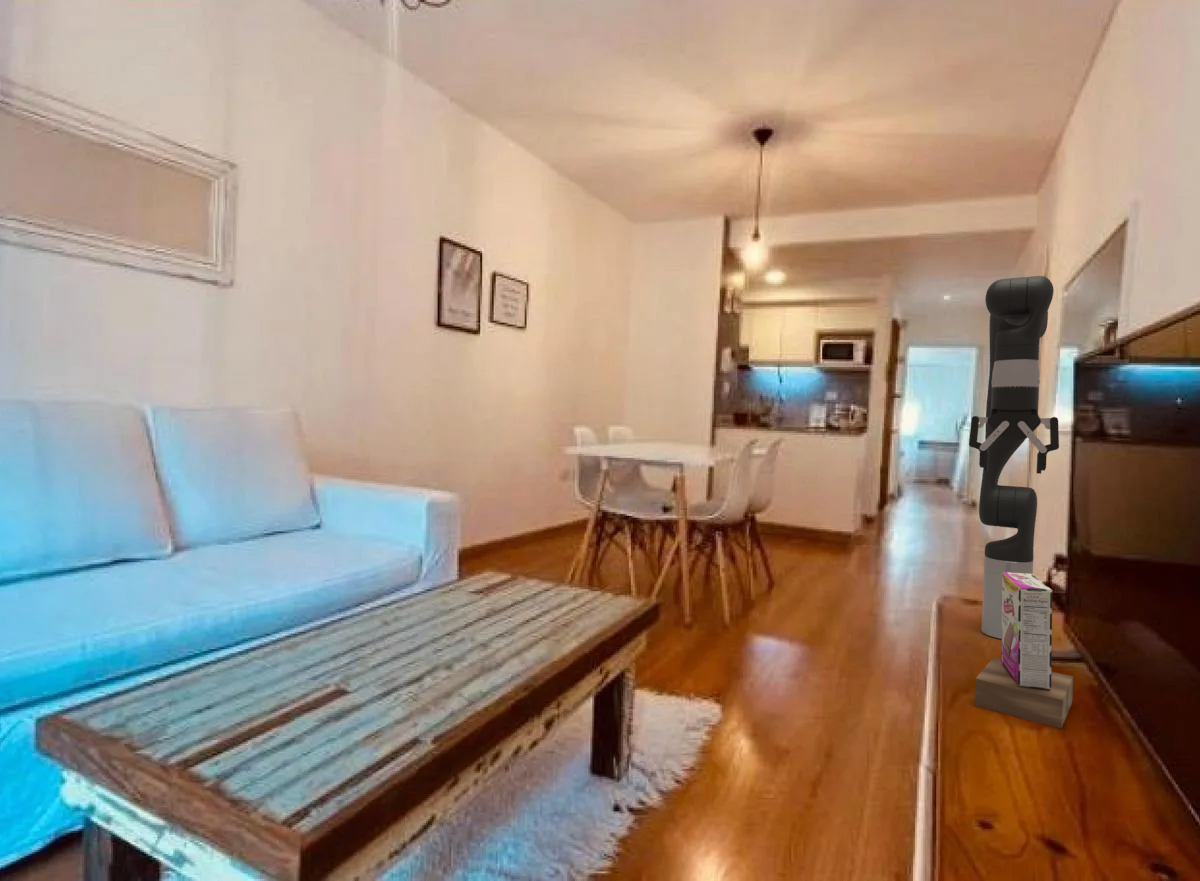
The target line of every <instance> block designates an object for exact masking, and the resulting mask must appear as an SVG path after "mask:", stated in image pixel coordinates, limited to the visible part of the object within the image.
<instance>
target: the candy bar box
mask: <svg viewBox="0 0 1200 881" xmlns="http://www.w3.org/2000/svg"><path fill="white" fill-rule="evenodd" d="M1052 639H1053V589H1051V588H1050V587H1049V586H1047V585H1046V584H1045V583H1044V582H1042V581H1041V580H1040V579H1039V578H1038V577H1036V576H1035V575H1034V573H1033V574H1028V573H1012V572H1002V639H1001V646H1000V647H1001V653H1000V654H1001V655H1000V656H1001V659H1000V660H1001V662H1002V664H1003V665H1004V666H1005V668H1006V669H1007V670H1008V672H1009V673H1010V674H1011V676H1012V677H1013V679H1014V680H1015V681H1016V683H1017V684H1018V686H1020V687H1026V688H1037V689H1049V690H1051V675H1052V672H1053V671H1052V670H1053V669H1052V665H1053V664H1052V663H1053V662H1052V661H1053V660H1052V659H1053V658H1052V657H1053V656H1052V654H1053V653H1052V652H1053V651H1052V650H1053V649H1052V648H1053V646H1052V645H1053V643H1052V642H1053V640H1052Z"/></svg>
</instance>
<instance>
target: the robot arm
mask: <svg viewBox="0 0 1200 881" xmlns="http://www.w3.org/2000/svg"><path fill="white" fill-rule="evenodd" d="M1054 293H1055V292H1054V285H1053V283H1052V282H1051V280H1050V279H1049V278H1048V277H1046V276H1043V275H1035V276H1033V275H1032V276H1024V277H1023V276H1021V277H1012V278H1011V277H1010V278H1008V277H1007V278H1001V279H997V280H995V281H994V282H992V283H991V284H990V285H989V286H988V288H987V290H986V293H985V307H986V309H987V311H988V313H989V314H990V315H989V372H988V374H989V375H988V384H987V396H986V406H985V416H977V415H974V416H972V417H971V419H970V420H971V422H970V429H969V430H970V432H969V440H968V445H969V446H968V447H970V448H974V449H976V450H978V452H979V462H978V464H979V468H981V469H982V477H981V485H980V492H979V500H978V515H979V520H980V523H981V524H983V525H985V526H989V527H990V526H991V527H1000V528H1010V529H1016V530H1017V532H1016V533H1015V534H1013V535H1012V536H1009V537H1007V538H1003V539H998V540H993V541H989V542H987V543H986V544H985V546H984V564H983V566H984V567H983V587H982V588H983V590H982V614H981V632H982V633H983V634H985V635H986V636H990V637H992V638H996V639H1000V640H1002V572H1012V573H1028V574H1033V575H1034V544H1035V542H1034V541H1035V530H1036V518H1037V513H1038V496H1037V492H1036V491H1035V489H1034V488H1032V487H1028V486H1015V485H1014V486H1013V485H999V484H998V483H999V479H1000V477H1001V474H1002V471H1003V470H1004V468H1005V466H1006V464H1007V463H1008V461H1009V460H1010V458H1012V456H1013V455H1014V453H1015V452H1016V451H1017V450H1018V449H1019V448H1020V447H1021V445H1022V444H1023V443H1024V442H1025V441H1026V439H1028V440H1029V441H1030V442H1031V443H1032V444H1033V445H1034V447H1035V448H1036V449H1037V450H1038V452H1037V454H1036V457H1037V458H1036V474H1040V475H1041V474H1042V471H1043V472H1044V471H1046V468H1047V456H1048V453H1049V452H1053V451H1056V450H1058V449H1060V439H1059V438H1060V436H1059V435H1060V432H1059V419H1058V417H1055V416H1053V417H1045V418H1041V417H1040V416H1039V402H1040V401H1039V398H1040V396H1039V395H1040V383H1041V380H1040V373H1041V372H1040V364H1039V360H1040V358H1039V357H1040V341H1041V338H1042V337H1044V335H1045V333H1046V331H1047V328H1048V320H1049V308H1050V307H1051V302H1052V301H1053V298H1054ZM984 424H985V425H984ZM1041 424H1042V425H1043V426H1044V428H1045V429H1046V430H1049V440H1050V444H1049V443H1048V444H1045V445H1044V444H1043V442H1042V441H1041V439H1039V438H1038V436H1037V435H1036V434H1035V433H1034V432H1035V430H1036V429H1037V428H1038V427H1039V426H1040V425H1041ZM984 426H985V431H984V432H985V435H984V436H985V437H984V438H985V440H984V441H983V442H982V443H981V442H979V441H978V434H979V429H980V428H982V427H984Z"/></svg>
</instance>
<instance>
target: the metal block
mask: <svg viewBox="0 0 1200 881" xmlns="http://www.w3.org/2000/svg"><path fill="white" fill-rule="evenodd" d="M1073 687H1074V675H1073V676H1072V675H1069V674H1064V673H1059V672H1055V671H1052V675H1051V690H1049V689H1037V688H1026V687H1020V686H1018V684H1017V683H1016V681H1015V680H1014V679H1013V677H1012V676H1011V674H1010V673H1009V672H1008V670H1007V669H1006V668H1005V666H1004V665H1003V664H1002V662H1001V659H998V658H991V659H990V661H989V662H988V663H987V664H986V666H985V667H984V668H983V669H982V670H981V672H980V673H979V674H978V675H977V676H976V677H975V687H974V706H975V707H979V708H984V709H986V710H990V711H994V712H997V711H998V713H1002V714H1005V715H1009V716H1013V717H1017V718H1019V719H1020V718H1021V719H1024V720H1028V721H1031V722H1036V723H1038V724H1042V725H1046V726H1049V727H1054V728H1058V729H1063V725H1064V724H1065V721H1066V719H1067V717H1068V716H1067V715H1068V714H1069V711H1070V708H1071V707H1072V703H1073V692H1074V689H1073Z"/></svg>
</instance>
